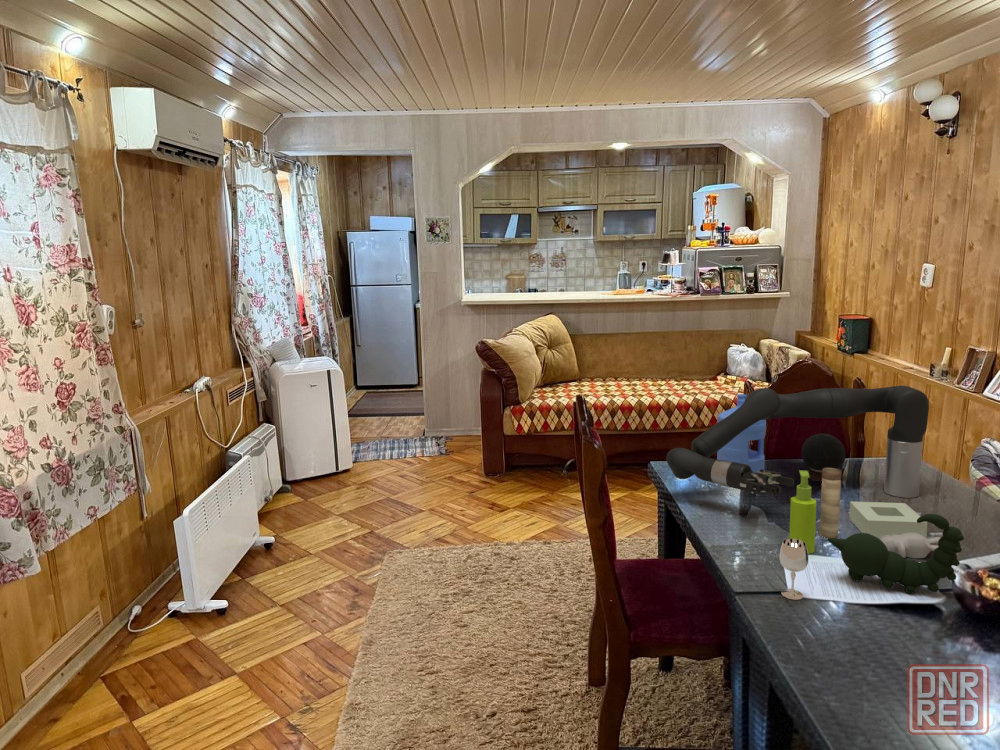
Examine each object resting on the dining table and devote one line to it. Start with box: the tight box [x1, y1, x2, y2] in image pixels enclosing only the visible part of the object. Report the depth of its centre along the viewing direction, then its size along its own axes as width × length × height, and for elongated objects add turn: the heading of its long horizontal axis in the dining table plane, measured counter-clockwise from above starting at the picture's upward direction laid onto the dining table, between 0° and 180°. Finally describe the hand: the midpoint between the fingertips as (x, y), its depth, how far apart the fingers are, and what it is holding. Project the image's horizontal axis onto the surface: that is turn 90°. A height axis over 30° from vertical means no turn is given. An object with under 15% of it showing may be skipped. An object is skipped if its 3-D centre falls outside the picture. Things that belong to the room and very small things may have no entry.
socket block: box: [848, 501, 929, 538], centre depth 176 cm, size 14×14×5 cm
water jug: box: [716, 393, 767, 472], centre depth 223 cm, size 16×16×28 cm
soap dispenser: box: [788, 469, 818, 555], centre depth 165 cm, size 6×7×20 cm
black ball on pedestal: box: [801, 433, 846, 481], centre depth 219 cm, size 13×13×15 cm
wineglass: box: [778, 538, 809, 601], centre depth 143 cm, size 6×6×12 cm
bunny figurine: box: [879, 532, 942, 559], centre depth 161 cm, size 10×5×15 cm
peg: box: [819, 468, 843, 539], centre depth 172 cm, size 4×4×18 cm
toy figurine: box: [826, 513, 965, 595], centre depth 145 cm, size 9×19×25 cm
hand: (786, 486), depth 180 cm, fingers open, 8 cm apart
